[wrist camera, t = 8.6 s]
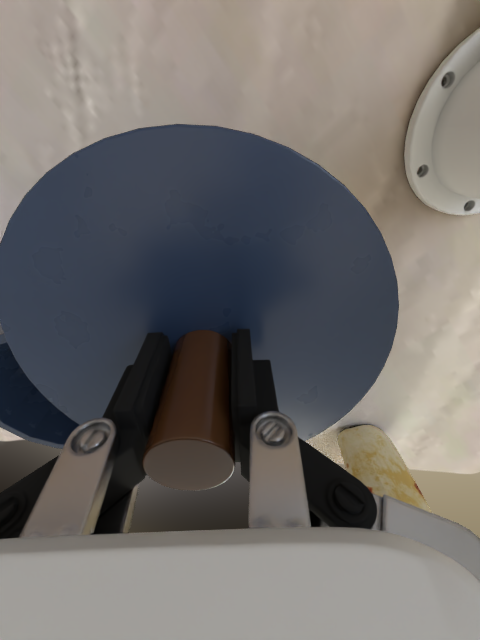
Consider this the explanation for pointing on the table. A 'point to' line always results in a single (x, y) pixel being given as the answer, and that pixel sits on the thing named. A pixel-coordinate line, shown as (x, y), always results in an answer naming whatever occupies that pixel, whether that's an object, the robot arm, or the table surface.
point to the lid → (196, 286)
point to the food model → (379, 465)
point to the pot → (28, 405)
